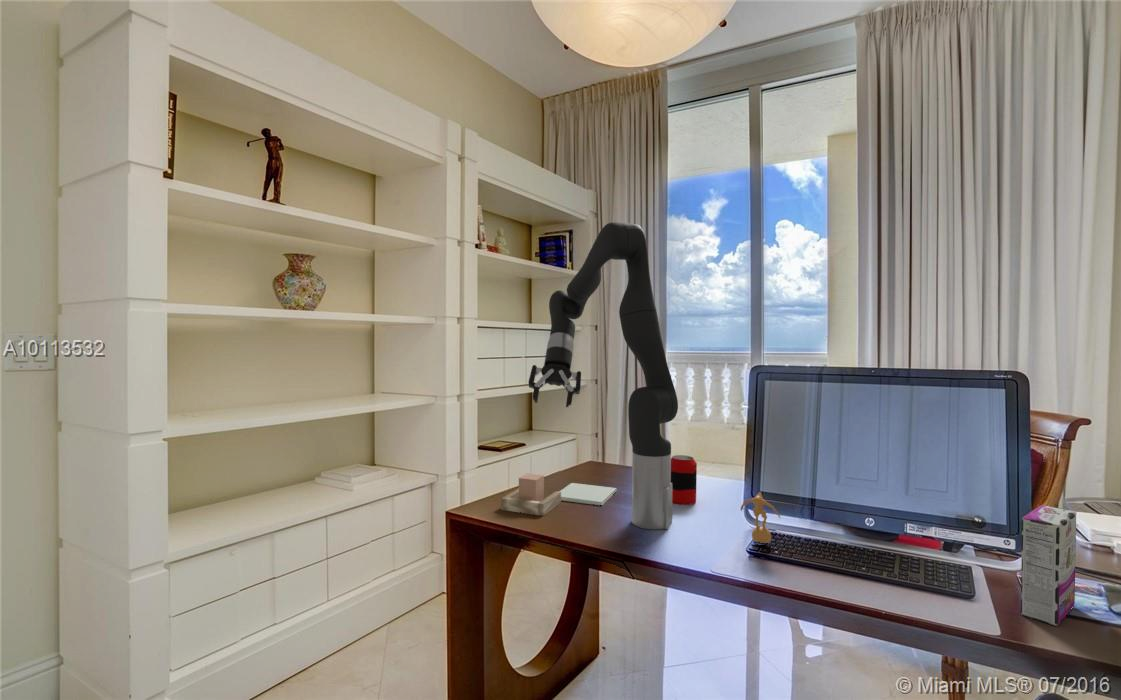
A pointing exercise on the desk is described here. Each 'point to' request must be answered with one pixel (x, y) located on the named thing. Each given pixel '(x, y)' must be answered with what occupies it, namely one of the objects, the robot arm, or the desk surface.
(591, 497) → the sage mat
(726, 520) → the desk surface
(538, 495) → the terracotta block
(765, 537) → the figurine
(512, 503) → the maple bay
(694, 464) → the soda can
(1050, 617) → the candy bar box
